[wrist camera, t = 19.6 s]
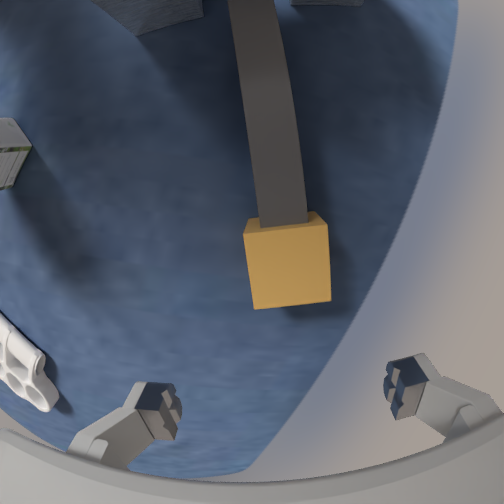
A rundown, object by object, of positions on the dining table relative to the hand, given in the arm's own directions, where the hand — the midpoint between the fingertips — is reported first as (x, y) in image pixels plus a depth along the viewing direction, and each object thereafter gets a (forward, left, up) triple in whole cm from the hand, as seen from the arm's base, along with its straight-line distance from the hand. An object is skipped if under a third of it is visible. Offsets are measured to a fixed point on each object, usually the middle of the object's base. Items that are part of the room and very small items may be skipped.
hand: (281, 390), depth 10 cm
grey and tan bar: (-9, +1, -14) cm, 17 cm away
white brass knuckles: (+10, -38, -14) cm, 42 cm away
